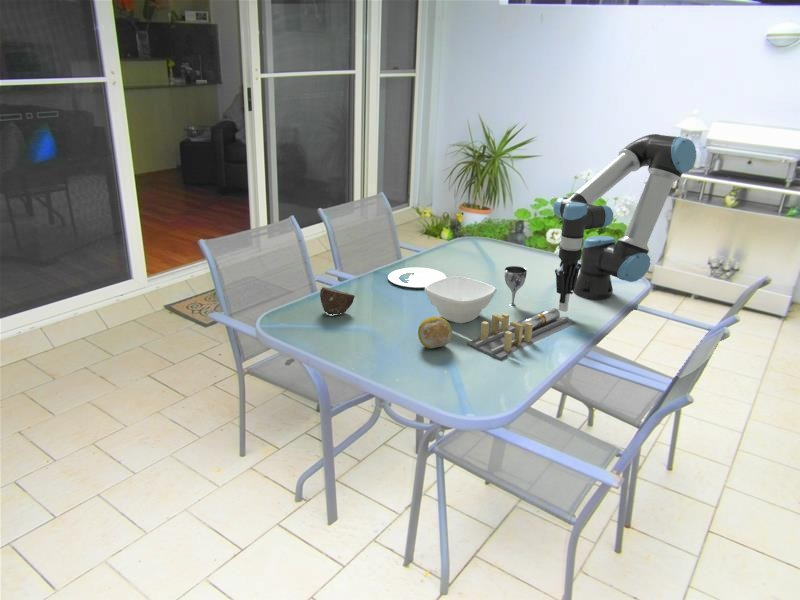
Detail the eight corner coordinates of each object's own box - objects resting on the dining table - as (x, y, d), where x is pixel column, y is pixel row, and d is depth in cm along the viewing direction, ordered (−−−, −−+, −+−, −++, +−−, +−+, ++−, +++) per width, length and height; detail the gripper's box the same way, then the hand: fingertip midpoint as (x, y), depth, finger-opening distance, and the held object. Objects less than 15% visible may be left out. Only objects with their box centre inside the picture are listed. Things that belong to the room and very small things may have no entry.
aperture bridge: (493, 333, 202) (495, 313, 199) (521, 345, 194) (523, 324, 191) (490, 335, 201) (492, 315, 198) (518, 347, 193) (520, 326, 190)
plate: (457, 277, 257) (457, 273, 257) (427, 295, 238) (428, 291, 237) (407, 267, 270) (407, 263, 269) (376, 283, 250) (376, 279, 249)
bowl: (455, 301, 231) (457, 273, 227) (502, 318, 216) (504, 288, 212) (415, 317, 217) (416, 287, 212) (462, 336, 202) (464, 304, 198)
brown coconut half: (355, 296, 222) (354, 290, 212) (347, 322, 220) (346, 318, 210) (323, 287, 222) (320, 281, 212) (315, 313, 220) (312, 308, 210)
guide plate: (543, 313, 221) (544, 295, 219) (575, 325, 211) (578, 306, 209) (467, 344, 196) (468, 325, 193) (500, 360, 186) (502, 339, 184)
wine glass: (523, 311, 222) (526, 273, 216) (501, 310, 223) (504, 272, 218) (523, 304, 229) (526, 266, 224) (502, 302, 231) (505, 265, 225)
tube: (550, 317, 216) (551, 306, 214) (559, 320, 213) (560, 310, 211) (518, 330, 205) (519, 320, 203) (527, 334, 202) (529, 323, 200)
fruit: (412, 343, 197) (413, 315, 193) (441, 338, 201) (443, 310, 197) (426, 356, 188) (426, 327, 184) (456, 350, 192) (457, 322, 188)
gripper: (572, 242, 214) (564, 303, 223) (550, 248, 206) (543, 311, 215) (590, 246, 209) (582, 309, 218) (569, 253, 201) (561, 318, 210)
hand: (563, 310), depth 216 cm, fingers closed
